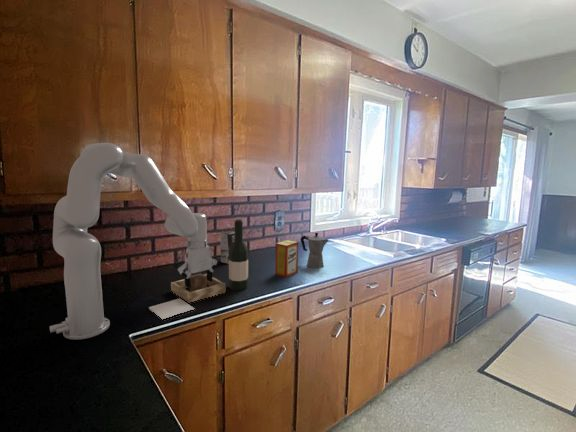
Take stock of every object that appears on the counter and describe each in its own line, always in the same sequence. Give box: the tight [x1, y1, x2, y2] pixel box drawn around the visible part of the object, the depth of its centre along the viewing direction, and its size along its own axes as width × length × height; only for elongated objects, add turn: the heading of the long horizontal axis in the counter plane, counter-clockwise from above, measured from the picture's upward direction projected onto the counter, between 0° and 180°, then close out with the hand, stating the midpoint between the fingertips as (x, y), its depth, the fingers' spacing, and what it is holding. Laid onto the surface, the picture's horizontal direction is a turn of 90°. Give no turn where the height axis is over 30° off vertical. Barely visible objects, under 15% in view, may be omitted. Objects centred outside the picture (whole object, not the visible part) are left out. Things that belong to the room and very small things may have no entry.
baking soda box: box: [274, 239, 299, 278], centre depth 157 cm, size 10×6×16 cm
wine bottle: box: [228, 218, 249, 291], centre depth 137 cm, size 8×8×30 cm
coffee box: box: [220, 230, 235, 265], centre depth 174 cm, size 9×6×16 cm
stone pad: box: [148, 297, 196, 321], centre depth 117 cm, size 12×12×1 cm
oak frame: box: [170, 273, 226, 304], centre depth 133 cm, size 16×15×4 cm
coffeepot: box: [300, 232, 329, 269], centre depth 171 cm, size 15×9×18 cm, turn 67°
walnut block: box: [189, 272, 208, 292], centre depth 132 cm, size 5×5×7 cm
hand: (199, 283), depth 133 cm, fingers open, 9 cm apart
